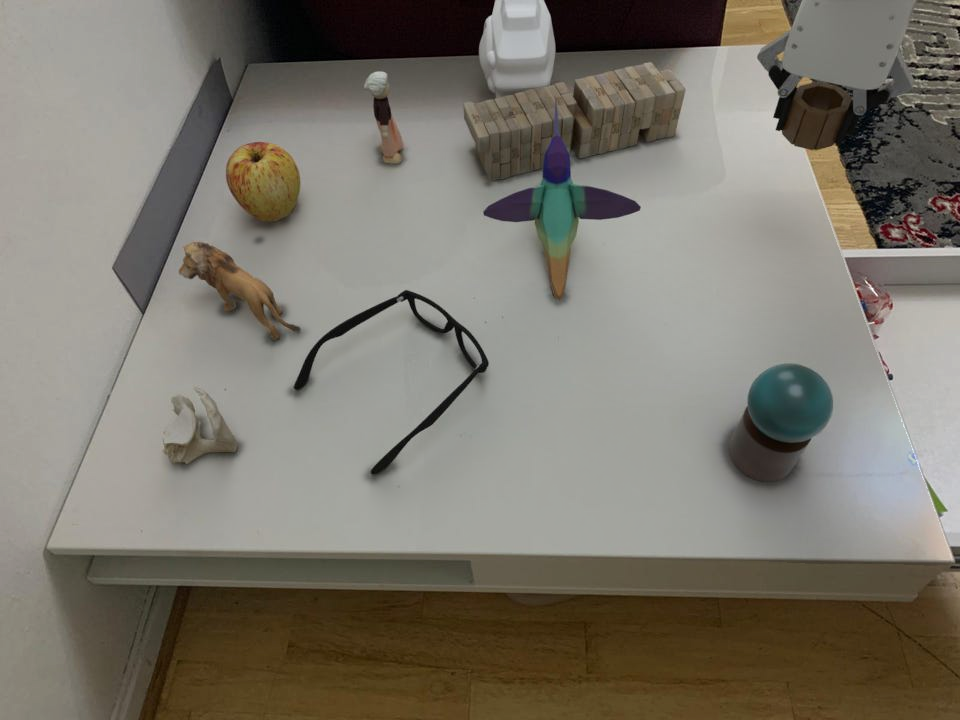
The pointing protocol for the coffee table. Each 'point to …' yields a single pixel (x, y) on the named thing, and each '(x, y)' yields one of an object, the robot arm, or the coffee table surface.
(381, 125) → the grandmother figurine
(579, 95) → the block tower
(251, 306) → the lion figurine
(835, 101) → the bronze ring
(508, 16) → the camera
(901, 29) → the robot arm
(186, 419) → the bone
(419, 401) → the coffee table surface
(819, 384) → the ball stand
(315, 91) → the coffee table surface
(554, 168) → the decorative sculpture
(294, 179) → the apple
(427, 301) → the glasses
